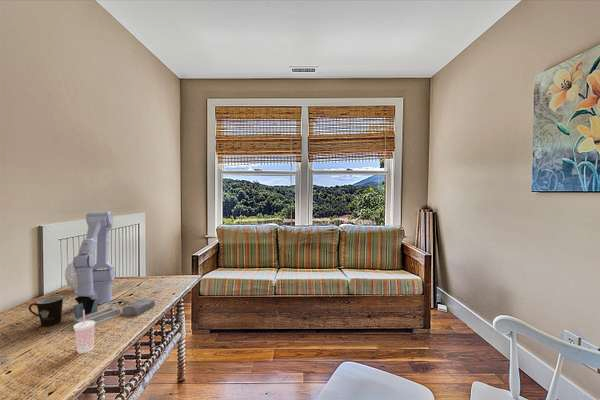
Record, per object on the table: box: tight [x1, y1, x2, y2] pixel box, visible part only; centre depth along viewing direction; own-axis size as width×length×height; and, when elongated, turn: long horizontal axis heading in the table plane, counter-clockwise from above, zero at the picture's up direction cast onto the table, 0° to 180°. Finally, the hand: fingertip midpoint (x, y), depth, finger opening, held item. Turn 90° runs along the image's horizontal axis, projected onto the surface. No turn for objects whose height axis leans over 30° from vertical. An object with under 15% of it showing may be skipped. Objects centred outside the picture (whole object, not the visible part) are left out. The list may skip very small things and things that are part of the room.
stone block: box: [121, 298, 156, 316], centre depth 141 cm, size 12×5×10 cm
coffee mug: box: [28, 295, 64, 328], centre depth 129 cm, size 12×9×10 cm
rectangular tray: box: [73, 305, 122, 326], centre depth 131 cm, size 7×15×3 cm, turn 152°
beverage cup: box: [73, 310, 96, 354], centre depth 107 cm, size 6×6×14 cm
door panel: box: [74, 299, 99, 319], centre depth 135 cm, size 2×8×6 cm, turn 152°
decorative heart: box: [64, 260, 77, 291], centre depth 169 cm, size 18×11×17 cm, turn 25°
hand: (86, 312), depth 135 cm, fingers closed on door panel, 2 cm apart
